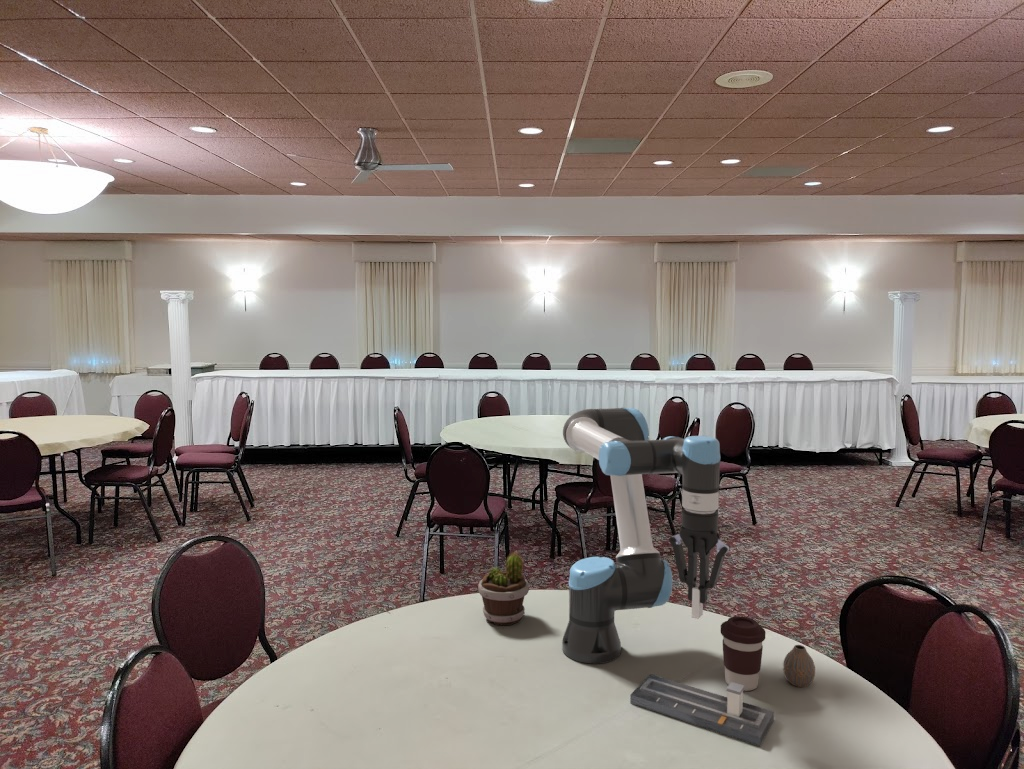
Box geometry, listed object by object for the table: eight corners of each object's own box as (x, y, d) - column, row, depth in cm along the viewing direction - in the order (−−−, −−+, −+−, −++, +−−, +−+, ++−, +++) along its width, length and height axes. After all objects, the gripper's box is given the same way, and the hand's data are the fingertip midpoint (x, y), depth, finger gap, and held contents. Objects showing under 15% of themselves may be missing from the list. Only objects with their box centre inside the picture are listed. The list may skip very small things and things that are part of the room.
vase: (817, 692, 155) (819, 655, 154) (785, 688, 156) (787, 652, 156) (810, 677, 162) (812, 641, 161) (780, 674, 163) (781, 639, 162)
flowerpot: (483, 632, 186) (482, 561, 184) (474, 609, 201) (474, 544, 199) (534, 627, 189) (534, 557, 187) (522, 605, 204) (522, 541, 202)
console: (630, 703, 150) (630, 692, 150) (650, 682, 160) (650, 671, 159) (759, 747, 135) (760, 734, 134) (773, 720, 144) (774, 708, 143)
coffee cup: (763, 676, 162) (765, 616, 161) (764, 698, 152) (766, 633, 151) (720, 670, 165) (721, 610, 164) (718, 690, 156) (720, 627, 155)
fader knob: (725, 713, 142) (726, 688, 142) (730, 706, 145) (731, 681, 144) (739, 718, 141) (740, 692, 140) (743, 711, 143) (744, 685, 143)
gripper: (664, 508, 145) (661, 614, 147) (725, 518, 137) (721, 630, 139) (677, 500, 151) (674, 603, 153) (736, 510, 144) (732, 617, 146)
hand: (697, 615), depth 146 cm, fingers closed
